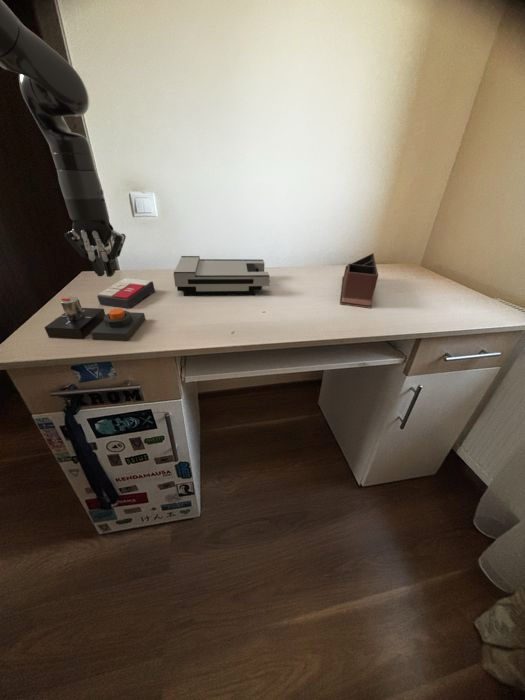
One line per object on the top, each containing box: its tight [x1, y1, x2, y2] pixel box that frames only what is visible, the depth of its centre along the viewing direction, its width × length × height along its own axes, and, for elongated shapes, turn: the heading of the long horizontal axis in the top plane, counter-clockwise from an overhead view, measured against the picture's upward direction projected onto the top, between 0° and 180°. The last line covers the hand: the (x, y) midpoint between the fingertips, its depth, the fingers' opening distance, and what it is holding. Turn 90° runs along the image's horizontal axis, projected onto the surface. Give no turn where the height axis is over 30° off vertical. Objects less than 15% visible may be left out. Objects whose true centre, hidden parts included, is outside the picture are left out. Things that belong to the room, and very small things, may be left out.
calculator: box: [96, 277, 156, 309], centre depth 94 cm, size 11×4×15 cm
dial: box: [60, 296, 84, 321], centre depth 74 cm, size 4×4×5 cm
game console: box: [173, 255, 271, 297], centre depth 105 cm, size 21×32×8 cm, turn 96°
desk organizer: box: [339, 253, 379, 309], centre depth 104 cm, size 10×29×11 cm, turn 165°
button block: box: [90, 310, 146, 342], centre depth 76 cm, size 12×9×4 cm
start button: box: [108, 308, 125, 320], centre depth 75 cm, size 4×4×2 cm
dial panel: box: [44, 307, 106, 340], centre depth 76 cm, size 12×9×3 cm
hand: (106, 275), depth 69 cm, fingers closed
